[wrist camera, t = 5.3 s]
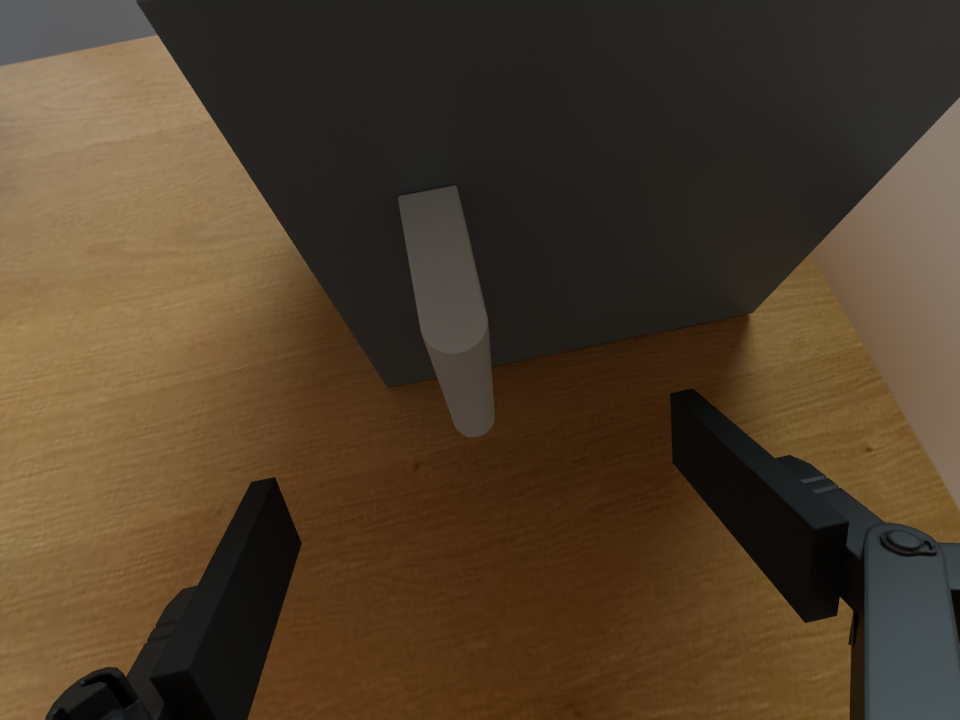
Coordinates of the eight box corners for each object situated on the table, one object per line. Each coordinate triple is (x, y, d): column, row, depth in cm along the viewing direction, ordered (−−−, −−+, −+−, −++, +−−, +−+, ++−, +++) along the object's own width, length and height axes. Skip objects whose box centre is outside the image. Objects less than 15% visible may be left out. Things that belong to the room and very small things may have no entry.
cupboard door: (792, 399, 31) (1510, -26, 9) (400, 482, 30) (110, 244, 8) (746, 300, 33) (1206, -216, 11) (385, 373, 33) (137, -29, 11)
